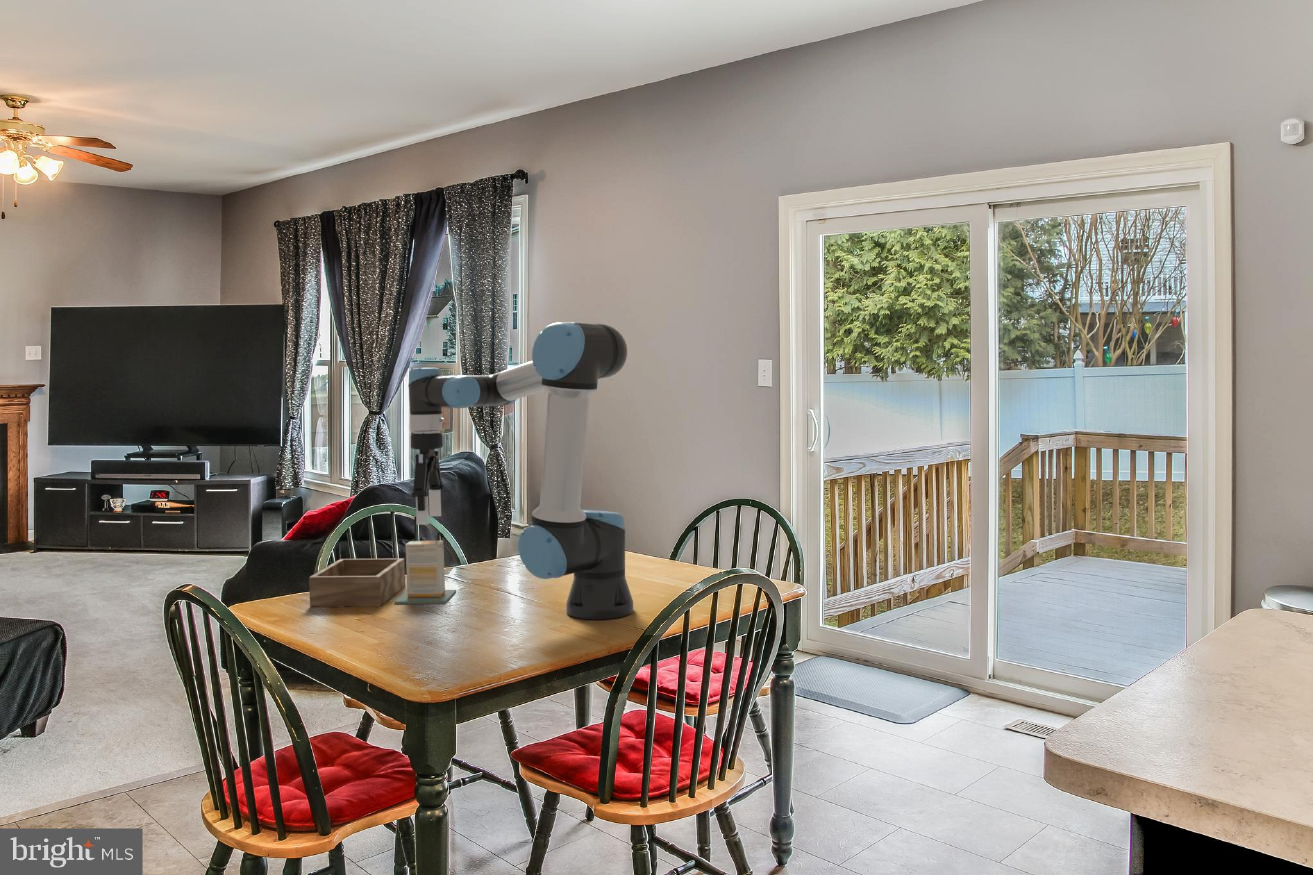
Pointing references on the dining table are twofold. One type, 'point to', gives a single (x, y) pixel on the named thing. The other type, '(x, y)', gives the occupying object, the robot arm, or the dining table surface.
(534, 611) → the dining table surface
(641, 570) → the dining table surface
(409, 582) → the supplement box
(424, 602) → the mat
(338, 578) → the crate
